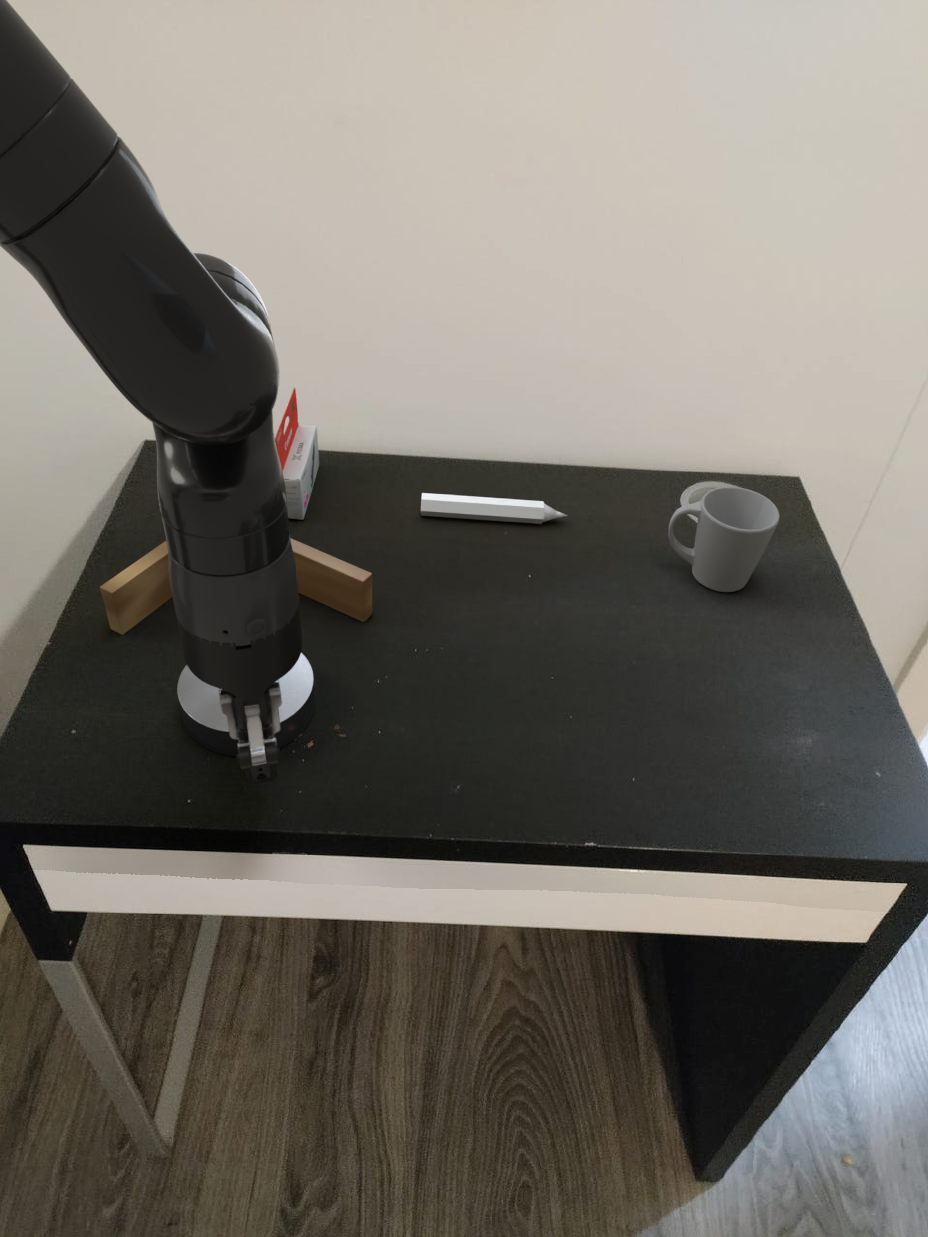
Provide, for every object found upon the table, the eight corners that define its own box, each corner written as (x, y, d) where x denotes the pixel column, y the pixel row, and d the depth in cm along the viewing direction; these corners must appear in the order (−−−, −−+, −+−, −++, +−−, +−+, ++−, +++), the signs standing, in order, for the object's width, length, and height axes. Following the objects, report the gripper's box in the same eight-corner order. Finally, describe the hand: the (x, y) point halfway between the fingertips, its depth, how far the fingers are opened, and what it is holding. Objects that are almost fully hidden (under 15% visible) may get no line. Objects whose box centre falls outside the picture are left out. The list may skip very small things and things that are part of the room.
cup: (756, 606, 93) (781, 537, 87) (656, 587, 94) (674, 518, 88) (756, 560, 98) (779, 493, 93) (661, 543, 100) (678, 476, 94)
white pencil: (566, 528, 102) (420, 517, 101) (566, 511, 102) (421, 500, 102) (570, 518, 99) (420, 507, 99) (570, 500, 100) (422, 489, 99)
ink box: (320, 464, 107) (316, 387, 100) (303, 521, 98) (298, 441, 92) (298, 462, 107) (293, 385, 100) (280, 519, 98) (273, 439, 92)
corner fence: (272, 712, 78) (267, 670, 75) (110, 629, 84) (99, 586, 81) (372, 614, 88) (372, 573, 85) (221, 546, 94) (215, 505, 91)
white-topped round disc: (258, 777, 73) (255, 753, 71) (153, 720, 77) (147, 695, 75) (341, 692, 80) (340, 668, 78) (241, 644, 84) (238, 619, 82)
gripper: (170, 540, 61) (204, 717, 73) (178, 681, 52) (215, 859, 63) (285, 528, 63) (300, 702, 75) (313, 663, 54) (325, 838, 65)
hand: (261, 774), depth 69 cm, fingers closed
